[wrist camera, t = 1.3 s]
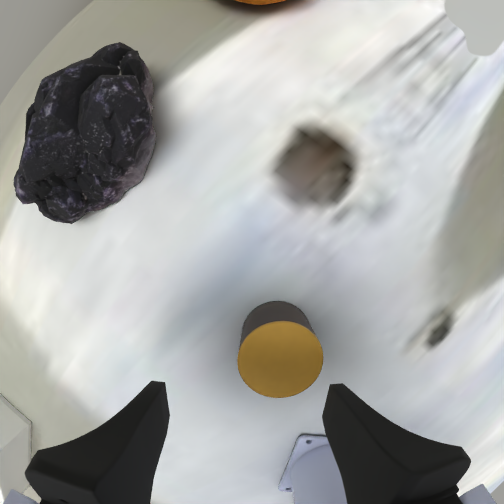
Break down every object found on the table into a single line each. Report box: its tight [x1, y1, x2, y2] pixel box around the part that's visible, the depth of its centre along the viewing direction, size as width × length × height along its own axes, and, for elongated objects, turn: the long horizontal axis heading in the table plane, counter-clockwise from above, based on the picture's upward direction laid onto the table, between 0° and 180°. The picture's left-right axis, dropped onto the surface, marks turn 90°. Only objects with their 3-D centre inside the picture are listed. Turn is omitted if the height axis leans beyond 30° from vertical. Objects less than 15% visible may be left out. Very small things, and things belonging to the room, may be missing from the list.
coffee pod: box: [237, 301, 323, 398], centre depth 19 cm, size 5×5×5 cm
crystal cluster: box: [14, 42, 156, 224], centre depth 16 cm, size 13×14×10 cm
